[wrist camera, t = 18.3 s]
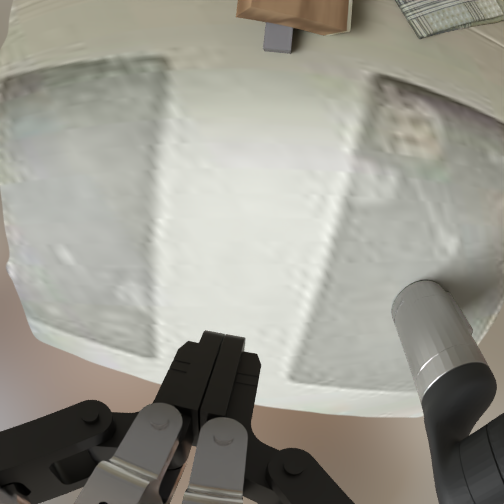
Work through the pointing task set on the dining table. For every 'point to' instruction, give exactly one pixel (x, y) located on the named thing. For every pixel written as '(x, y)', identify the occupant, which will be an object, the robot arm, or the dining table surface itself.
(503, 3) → the dish towel
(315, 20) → the walnut slab
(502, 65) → the dining table surface
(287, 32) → the rail
